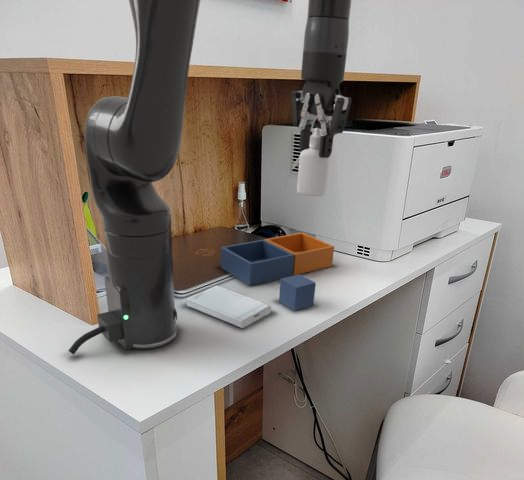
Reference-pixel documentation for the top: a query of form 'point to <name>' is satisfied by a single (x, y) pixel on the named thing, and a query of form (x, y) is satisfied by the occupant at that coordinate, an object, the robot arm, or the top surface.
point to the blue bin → (257, 262)
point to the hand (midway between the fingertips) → (314, 154)
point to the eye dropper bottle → (312, 169)
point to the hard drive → (229, 306)
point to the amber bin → (305, 251)
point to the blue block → (297, 292)
